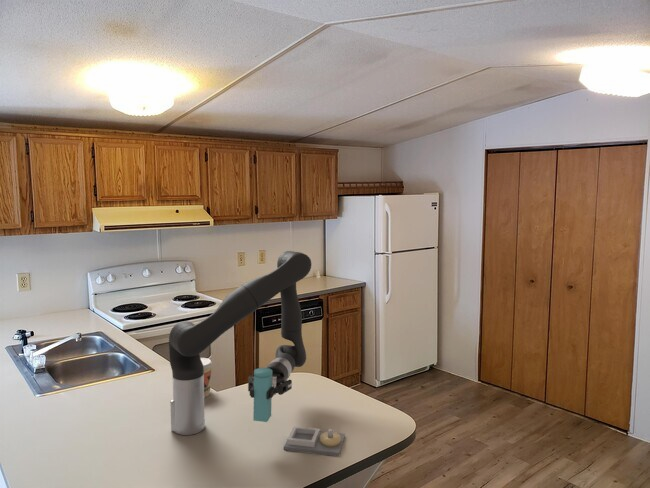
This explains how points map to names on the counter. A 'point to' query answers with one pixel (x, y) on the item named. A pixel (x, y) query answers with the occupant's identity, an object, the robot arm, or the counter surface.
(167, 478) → the counter surface
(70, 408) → the counter surface
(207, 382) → the coffee cup
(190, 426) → the robot arm
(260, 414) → the lidded tumbler
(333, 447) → the housing
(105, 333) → the counter surface
